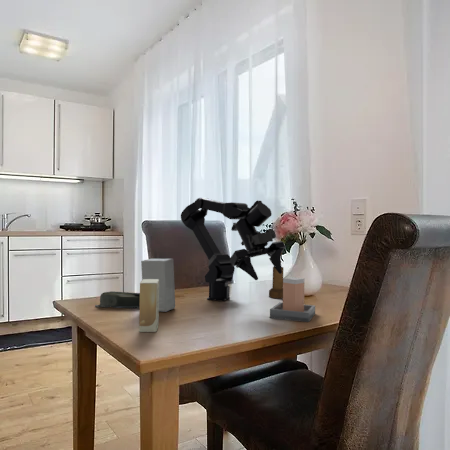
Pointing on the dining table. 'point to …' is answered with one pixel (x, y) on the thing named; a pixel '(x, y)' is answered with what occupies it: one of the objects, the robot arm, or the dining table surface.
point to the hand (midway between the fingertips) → (269, 276)
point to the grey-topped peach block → (293, 294)
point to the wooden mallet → (277, 284)
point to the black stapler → (119, 300)
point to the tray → (292, 313)
